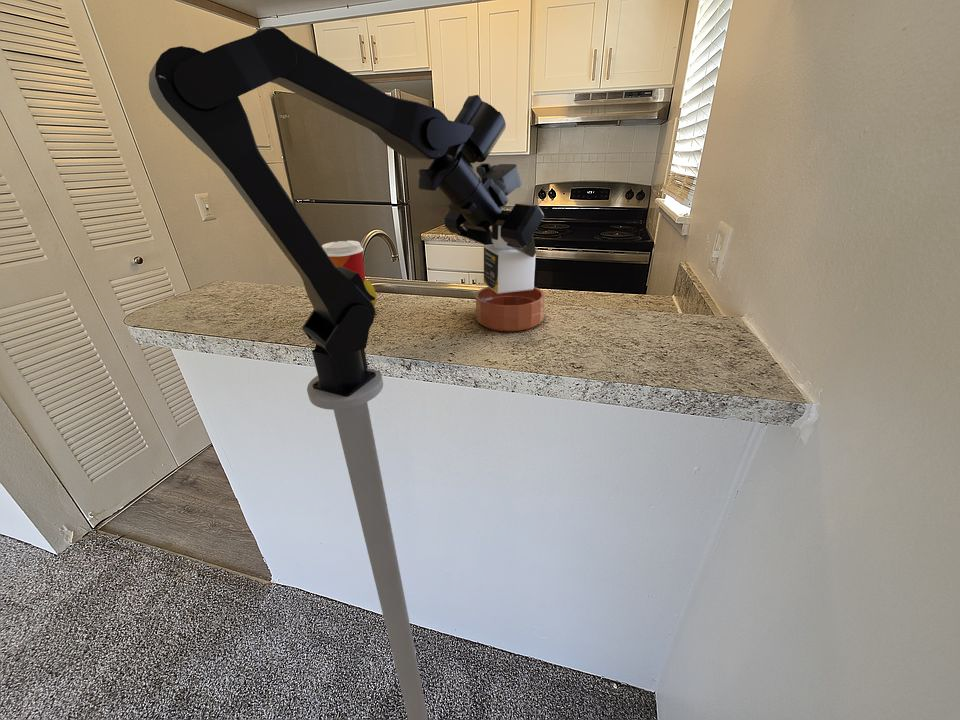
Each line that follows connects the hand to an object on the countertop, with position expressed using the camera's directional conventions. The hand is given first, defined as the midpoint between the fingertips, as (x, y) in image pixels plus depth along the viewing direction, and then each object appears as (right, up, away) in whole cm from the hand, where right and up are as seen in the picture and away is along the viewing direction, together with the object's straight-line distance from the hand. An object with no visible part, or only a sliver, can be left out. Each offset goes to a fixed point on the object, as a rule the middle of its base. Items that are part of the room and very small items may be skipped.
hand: (515, 250), depth 72 cm
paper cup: (-32, -4, +6) cm, 32 cm away
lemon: (-29, -11, +9) cm, 33 cm away
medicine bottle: (-1, -6, +2) cm, 7 cm away
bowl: (-1, -12, +5) cm, 13 cm away
